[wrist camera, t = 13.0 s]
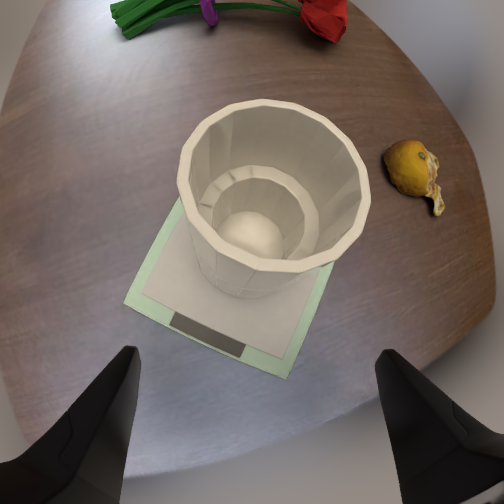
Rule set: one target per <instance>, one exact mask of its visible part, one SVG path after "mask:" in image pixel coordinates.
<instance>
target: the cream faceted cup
mask: <svg viewBox="0 0 504 504" xmlns="http://www.w3.org/2000/svg"><path fill="white" fill-rule="evenodd" d="M176 182H177V188H178V192H179V196H180V200H181V204H182V208H183V212H184V216H185V220H186V223H187V227H188V231H189V235H190V238H191V242H192V246H193V249H194V253H195V256H196V259H197V262H198V265H199V268H200V271H201V272H202V274H203V275H204V276H205V277H206V278H207V279H208V281H209V282H210V283H211V284H212V285H213V286H214V287H215V288H216V289H218V290H220V291H222V292H224V293H226V294H228V295H230V296H232V297H234V298H244V299H259V298H262V297H265V296H268V295H270V294H273V293H276V292H278V291H280V290H282V289H283V288H285V287H287V286H289V285H291V284H293V283H295V282H296V281H299V280H301V279H302V278H304V277H306V276H308V275H310V274H312V273H313V272H315V271H317V270H319V269H321V268H322V267H324V266H326V265H328V264H330V263H331V262H333V261H335V260H337V259H338V258H339V257H340V256H341V255H342V254H343V253H344V252H345V251H346V250H347V249H348V248H349V247H350V246H351V244H352V243H353V242H354V241H355V240H356V239H357V238H358V237H359V236H360V235H361V233H362V231H363V228H364V224H365V221H366V218H367V214H368V211H369V207H370V204H371V196H370V189H369V181H368V174H367V170H366V167H365V165H364V163H363V161H362V159H361V158H360V156H359V154H358V152H357V150H356V149H355V147H354V145H353V143H352V142H351V141H350V139H349V138H348V137H347V136H346V135H345V134H344V133H342V132H341V131H340V130H339V129H338V128H337V127H336V126H335V125H334V124H333V123H332V122H330V121H329V120H328V119H327V118H325V117H324V116H322V115H320V114H318V113H315V112H313V111H311V110H309V109H307V108H305V107H303V106H300V105H298V104H295V103H290V102H284V101H276V100H269V99H257V100H251V101H246V102H240V103H235V104H230V105H228V106H226V107H224V108H223V109H221V110H219V111H218V112H216V113H214V114H213V115H211V116H209V117H208V118H206V119H204V120H203V121H202V122H201V123H200V124H199V125H198V127H197V128H196V129H195V131H194V132H193V133H192V135H191V136H190V138H189V139H188V140H187V142H186V143H185V145H184V146H183V148H182V151H181V156H180V162H179V168H178V174H177V180H176Z"/></svg>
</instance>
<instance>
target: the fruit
mask: <svg viewBox="0 0 504 504" xmlns="http://www.w3.org/2000/svg"><path fill="white" fill-rule="evenodd" d="M383 155H384V161H385V163H386V165H387V170H388V172H389V174H390V179H391V182H392V183H393V184H395V185H396V186H397V187H398V190H399V191H400V192H402V193H403V195H404V194H408V195H411V196H414V197H420V196H423V195H425V196H427V197H431V198H433V200H434V203H435V207H434V210H433V211H432V212H433V213H434V215H435V216H440V214H441V213H442V212H443V211H444V208H445V205H444V202H443V201H442V199H441V195H440V190H441V188H440V187H439V186H438V185H436V183H435V179H436V177H437V176H438V175H437V173H436V171H437V169H438V168H439V162H438V159H437V158H436V157H435V156H434V155H433V154H432V153H431V152H428V151H427V150H426V149H425V148H424V146H423V144H422V143H421V142H419V141H416V140H403V141H399V142H396V143H394V144H393V145H392V146H391V148H388V149H387V150H386V151H385V153H384V154H383Z"/></svg>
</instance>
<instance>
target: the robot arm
mask: <svg viewBox="0 0 504 504" xmlns="http://www.w3.org/2000/svg"><path fill="white" fill-rule="evenodd" d="M140 371H141V360H140V356H139V352H138V348H137V347H135V346H128V345H127V346H125V347H124V348H123V349H122V350H121V351H120V352H119V353H118V354H117V355H116V356H115V357H114V358H113V359H112V361H111V362H110V363H109V364H108V365H107V366H106V367H105V368H104V369H103V370H102V372H101V373H100V374H99V375H98V376H97V377H96V378H95V379H94V380H93V382H92V383H91V384H90V385H89V386H88V387H87V388H86V389H85V391H84V392H83V393H82V394H81V395H80V396H79V397H78V398H77V400H76V401H75V402H74V403H73V404H72V405H71V406H70V408H69V409H68V410H67V411H68V412H67V411H66V412H65V413H64V414H63V415H62V417H61V418H60V419H59V420H58V421H57V422H56V423H55V424H54V425H53V426H52V427H51V428H50V429H49V430H48V431H47V432H46V433H45V434H44V435H43V436H42V437H41V438H40V439H39V440H37V441H36V442H35V443H34V444H33V445H32V446H31V447H30V448H29V449H27V450H26V451H25V452H24V453H23V454H22V455H20V456H19V457H17V458H16V459H13V460H11V461H7V462H3V463H0V504H119V500H120V494H121V487H122V481H123V474H124V468H125V463H126V457H127V451H128V446H129V441H130V436H131V431H132V426H133V421H134V416H135V412H136V407H137V399H138V389H139V380H140ZM375 372H376V378H377V384H378V390H379V396H380V401H381V405H382V409H383V413H384V417H385V421H386V425H387V429H388V433H389V437H390V442H391V446H392V451H393V455H394V460H395V464H396V469H397V474H398V479H399V484H400V485H399V486H400V491H401V497H402V503H403V504H504V434H499V433H496V432H493V431H492V430H490V429H489V428H487V427H486V426H484V425H483V424H481V423H480V422H479V421H478V420H476V419H475V418H474V417H472V416H471V415H470V414H468V413H467V412H466V411H464V410H463V409H462V408H461V407H460V406H458V405H457V404H456V403H455V402H454V401H452V399H451V398H449V397H448V396H447V395H446V394H445V393H444V392H443V391H441V390H440V389H439V388H438V387H437V386H436V385H434V384H433V383H432V382H431V381H430V380H429V379H428V378H426V377H425V376H424V375H423V374H422V373H421V372H420V371H418V370H417V369H416V368H415V367H414V366H413V365H411V364H410V363H409V362H408V361H407V360H406V359H404V358H403V357H402V356H401V355H400V354H399V353H397V352H396V351H395V350H394V349H385V350H383V351H382V353H381V354H380V356H379V358H378V359H377V361H376V363H375Z"/></svg>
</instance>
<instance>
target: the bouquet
mask: <svg viewBox="0 0 504 504" xmlns="http://www.w3.org/2000/svg"><path fill="white" fill-rule="evenodd" d="M272 1H275V2H278V3H281V4H284V5H287V6H289V7H292V8H295V9H297V10H300V13H298V12H295V11H292V10H289V9H286V8H282V7H276V6H270V5H263V4H255V3H215V0H124V1H121V2H118V3H115V4H111V5H110V9H111V13H112V18H113V19H115V20H116V21H115V23H116V24H117V25H118V26H119V27H120V28H122V34H123V35H124V36H125V37H127V38H129V39H131V38H133V37H134V36H135V35H137V34H138V33H140V32H141V31H143V30H144V29H146V28H147V27H149V26H150V25H152V24H153V23H155V22H157V21H158V20H160V19H161V18H166V17H172V16H177V15H183V14H190V13H197V12H202V13H203V15H204V17H205V19H206V21H207V22H208V24H209V25H212V26H215V25H216V23H217V21H218V13H217V10H227V9H245V8H252V9H261V10H270V11H277V12H284V13H289V14H293V15H297V16H300V20H301V21H302V22H303V23H305V24H306V26H307V27H309V28H310V30H311V31H313V32H314V33H315V34H317V35H318V36H320V37H322V38H325V39H328V40H330V41H332V42H334V43H336V41H337V42H339V40H340V38H341V36H342V35H343V34H344V32H345V31H346V26H344V25H347V18H346V17H347V16H346V14H347V8H346V3H347V2H346V0H298V1H299V2H301V3H303V5H302V8H300V7H297V6H295V5H292V4H290V3H288V2H285V1H282V0H272ZM197 3H200V4H199V5H194V4H197Z"/></svg>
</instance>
